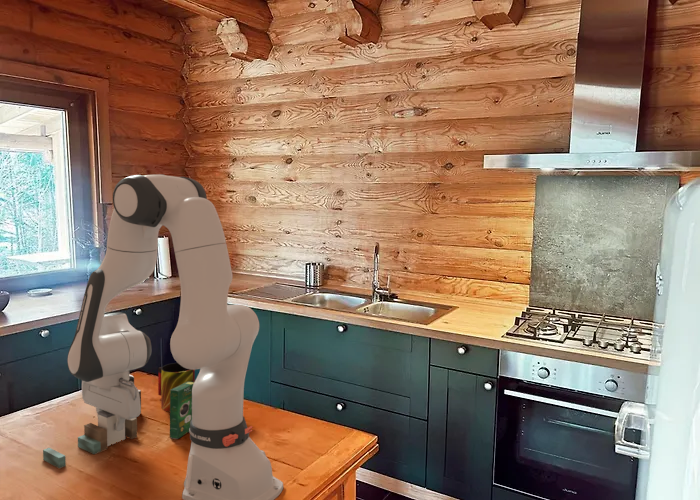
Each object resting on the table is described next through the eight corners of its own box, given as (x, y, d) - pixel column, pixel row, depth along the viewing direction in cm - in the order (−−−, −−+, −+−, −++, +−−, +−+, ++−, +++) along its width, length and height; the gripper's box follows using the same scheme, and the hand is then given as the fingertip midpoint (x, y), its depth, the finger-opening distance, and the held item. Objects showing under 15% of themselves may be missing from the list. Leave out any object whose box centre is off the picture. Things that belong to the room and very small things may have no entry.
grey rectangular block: (125, 439, 139) (124, 409, 138) (107, 446, 135) (106, 415, 134) (115, 435, 141) (115, 405, 140) (98, 442, 137) (97, 411, 136)
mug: (159, 397, 169) (159, 360, 168) (200, 401, 166) (200, 363, 165) (142, 408, 159) (142, 369, 158) (185, 413, 157) (185, 373, 155)
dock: (137, 437, 140) (136, 418, 140) (59, 468, 123) (58, 447, 123) (120, 430, 144) (120, 412, 144) (43, 459, 127) (42, 439, 126)
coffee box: (187, 426, 148) (187, 380, 147) (196, 427, 147) (196, 381, 146) (168, 438, 140) (168, 389, 139) (178, 439, 139) (178, 391, 138)
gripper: (147, 379, 133) (147, 432, 135) (99, 364, 144) (100, 413, 146) (124, 386, 128) (125, 441, 129) (76, 370, 139) (77, 421, 140)
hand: (111, 426), depth 138 cm, fingers open, 5 cm apart
